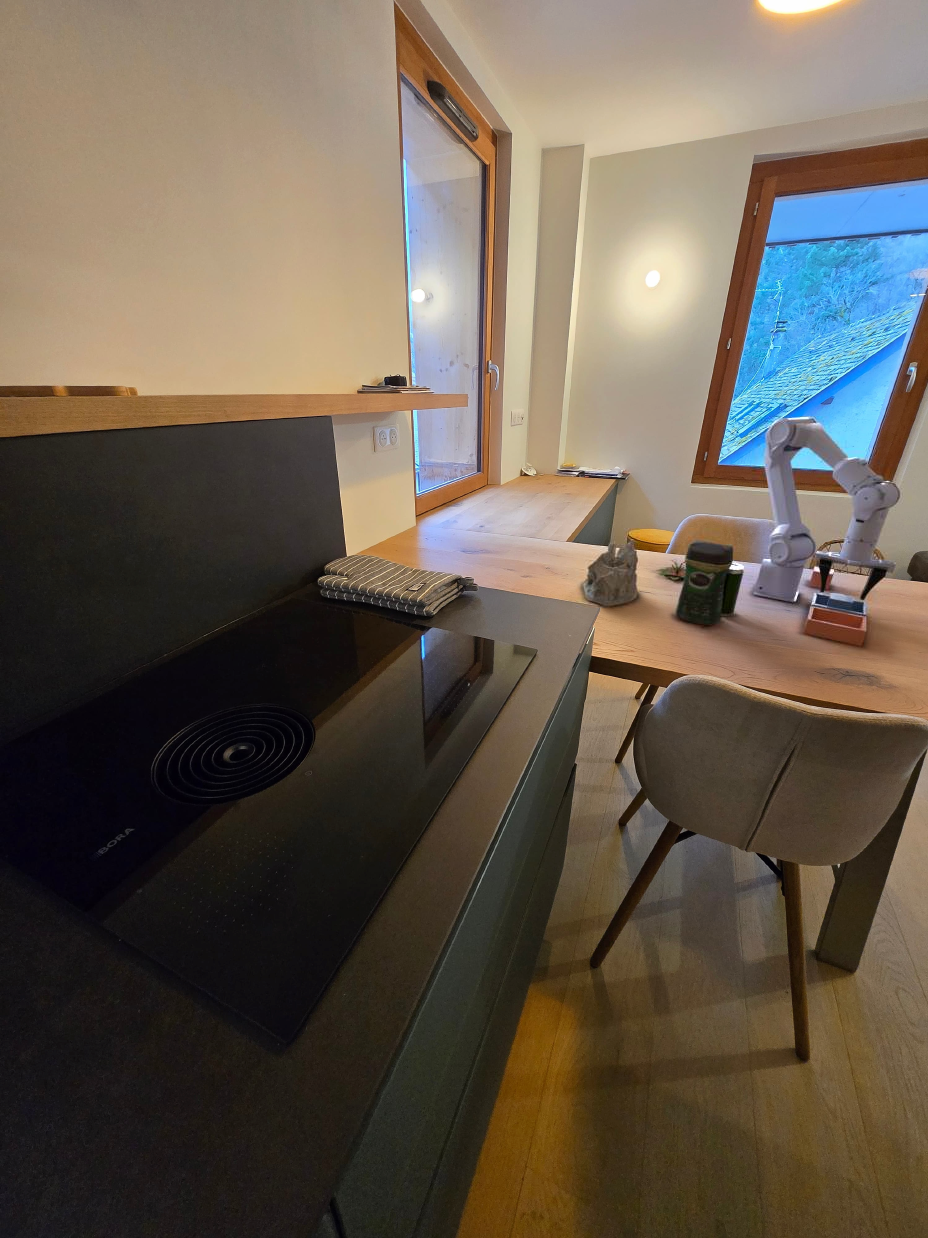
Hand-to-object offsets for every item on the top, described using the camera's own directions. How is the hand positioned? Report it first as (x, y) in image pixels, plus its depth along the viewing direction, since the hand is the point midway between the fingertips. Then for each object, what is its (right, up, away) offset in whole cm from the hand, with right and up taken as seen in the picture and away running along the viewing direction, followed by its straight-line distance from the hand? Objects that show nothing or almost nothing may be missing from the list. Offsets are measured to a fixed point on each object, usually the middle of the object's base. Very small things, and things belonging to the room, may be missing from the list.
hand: (841, 594), depth 115 cm
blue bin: (0, -5, +2) cm, 6 cm away
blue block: (0, -5, +2) cm, 5 cm away
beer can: (-25, -4, +6) cm, 26 cm away
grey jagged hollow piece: (-50, +1, +18) cm, 53 cm away
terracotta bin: (-6, -9, -5) cm, 12 cm away
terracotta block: (+9, +4, +20) cm, 22 cm away
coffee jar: (-33, -6, +3) cm, 33 cm away
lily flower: (-26, +7, +29) cm, 40 cm away
